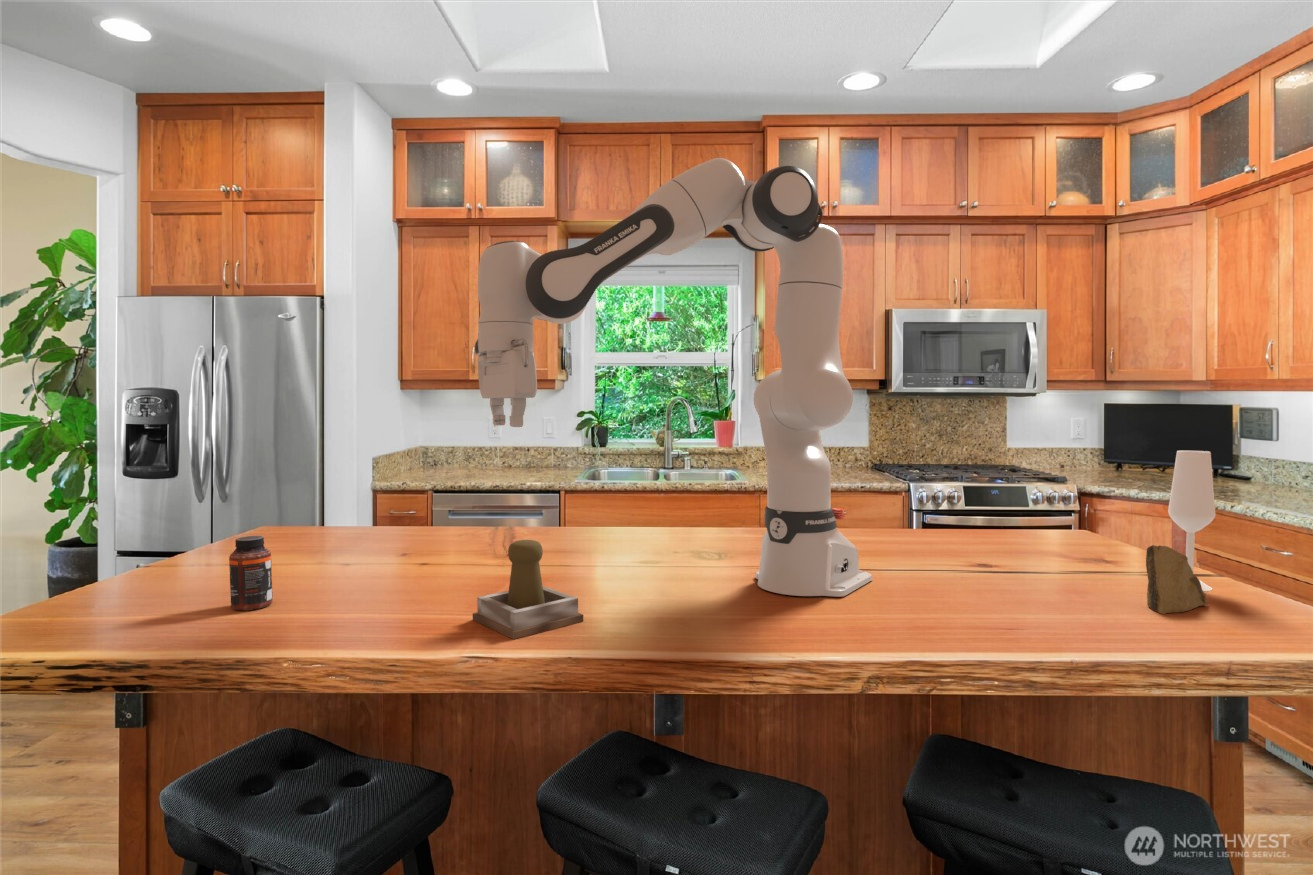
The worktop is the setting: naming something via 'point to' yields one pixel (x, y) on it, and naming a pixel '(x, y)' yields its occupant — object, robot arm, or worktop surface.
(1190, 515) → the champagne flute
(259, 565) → the supplement bottle
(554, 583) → the worktop surface
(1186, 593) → the rock
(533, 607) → the socket mount
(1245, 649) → the worktop surface
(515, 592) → the cork
